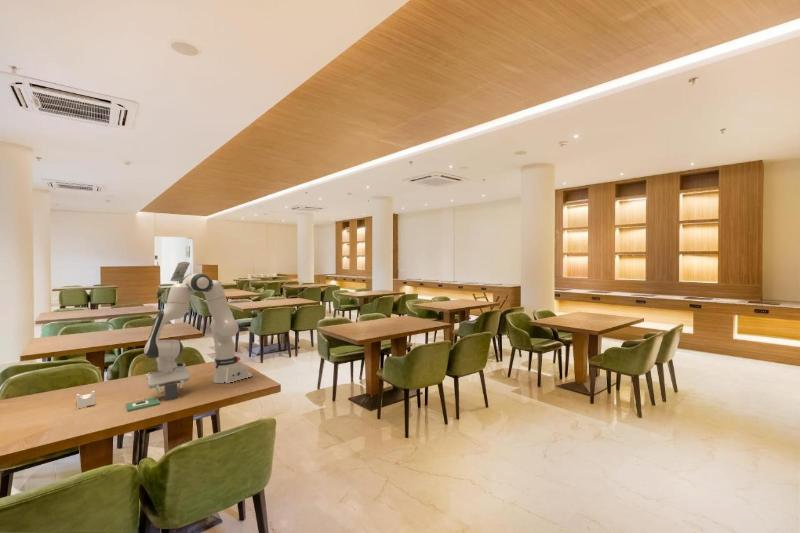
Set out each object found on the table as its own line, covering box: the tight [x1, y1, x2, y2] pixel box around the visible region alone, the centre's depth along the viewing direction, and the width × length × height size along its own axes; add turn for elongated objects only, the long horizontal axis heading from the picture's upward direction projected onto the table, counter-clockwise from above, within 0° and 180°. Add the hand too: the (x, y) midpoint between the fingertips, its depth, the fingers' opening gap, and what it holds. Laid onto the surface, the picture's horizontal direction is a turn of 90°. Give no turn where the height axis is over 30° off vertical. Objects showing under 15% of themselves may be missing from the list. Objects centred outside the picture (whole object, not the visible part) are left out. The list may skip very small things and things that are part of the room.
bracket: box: [76, 390, 96, 410], centre depth 203 cm, size 13×7×8 cm, turn 42°
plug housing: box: [163, 382, 179, 401], centre depth 208 cm, size 6×4×8 cm, turn 130°
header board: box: [125, 396, 161, 413], centre depth 200 cm, size 14×11×4 cm
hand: (171, 390), depth 208 cm, fingers open, 8 cm apart
